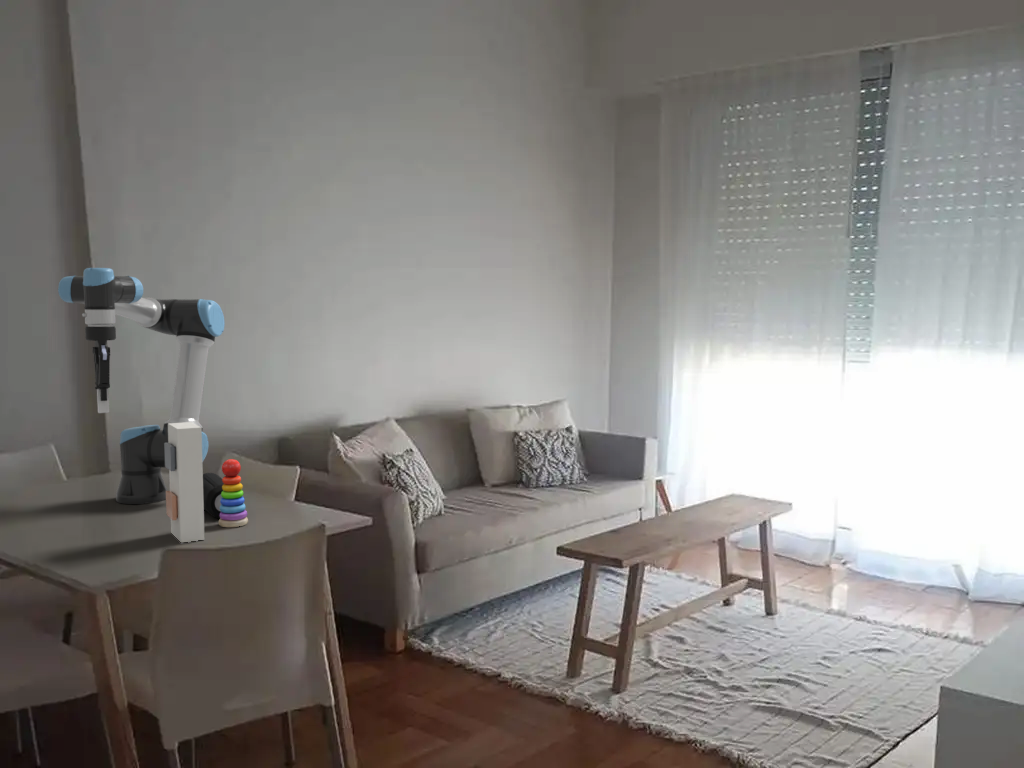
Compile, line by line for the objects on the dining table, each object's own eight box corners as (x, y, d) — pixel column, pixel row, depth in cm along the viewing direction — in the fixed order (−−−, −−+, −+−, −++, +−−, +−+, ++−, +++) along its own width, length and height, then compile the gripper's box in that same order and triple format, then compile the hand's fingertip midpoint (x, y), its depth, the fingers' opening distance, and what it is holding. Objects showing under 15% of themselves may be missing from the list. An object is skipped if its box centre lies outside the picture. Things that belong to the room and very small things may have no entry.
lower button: (166, 514, 247) (165, 490, 246) (193, 511, 251) (192, 488, 250) (172, 520, 241) (171, 496, 240) (200, 517, 244) (199, 493, 244)
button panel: (171, 533, 250) (167, 423, 247) (193, 530, 253) (190, 421, 251) (180, 543, 240) (177, 429, 237) (204, 540, 243) (201, 427, 240)
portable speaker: (243, 518, 268) (242, 484, 267) (208, 522, 263) (207, 488, 262) (223, 501, 290) (222, 470, 289) (190, 504, 285) (189, 473, 284)
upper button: (165, 466, 246) (164, 442, 245) (192, 464, 249) (191, 440, 249) (171, 471, 239) (170, 446, 239) (198, 468, 243) (198, 444, 242)
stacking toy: (217, 522, 262) (216, 457, 260) (246, 520, 265) (245, 455, 263) (219, 529, 255) (217, 462, 253) (249, 526, 258) (247, 460, 256)
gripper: (81, 325, 252) (85, 410, 254) (88, 326, 241) (91, 416, 243) (111, 324, 256) (114, 409, 258) (119, 326, 245) (122, 414, 247)
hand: (103, 412), depth 251 cm, fingers closed
